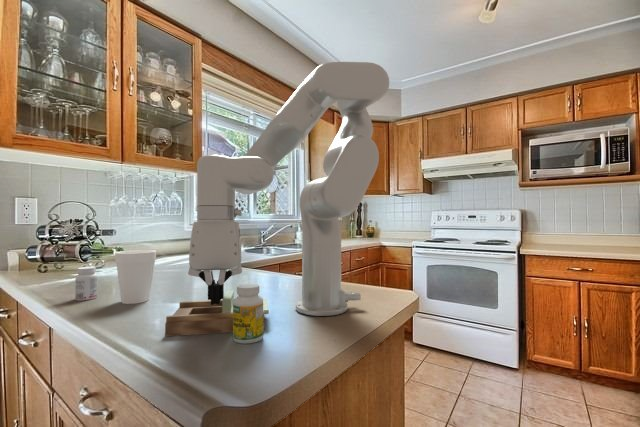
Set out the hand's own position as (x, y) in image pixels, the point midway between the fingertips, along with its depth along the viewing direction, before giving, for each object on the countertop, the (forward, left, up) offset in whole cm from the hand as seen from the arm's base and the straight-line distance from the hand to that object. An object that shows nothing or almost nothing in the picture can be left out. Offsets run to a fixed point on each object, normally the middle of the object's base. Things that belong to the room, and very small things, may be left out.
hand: (215, 302), depth 65 cm
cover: (-6, 0, -2) cm, 6 cm away
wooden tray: (-1, 0, -4) cm, 4 cm away
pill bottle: (+37, -28, -4) cm, 47 cm away
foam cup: (+23, -23, -4) cm, 33 cm away
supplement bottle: (-7, +10, -4) cm, 13 cm away
